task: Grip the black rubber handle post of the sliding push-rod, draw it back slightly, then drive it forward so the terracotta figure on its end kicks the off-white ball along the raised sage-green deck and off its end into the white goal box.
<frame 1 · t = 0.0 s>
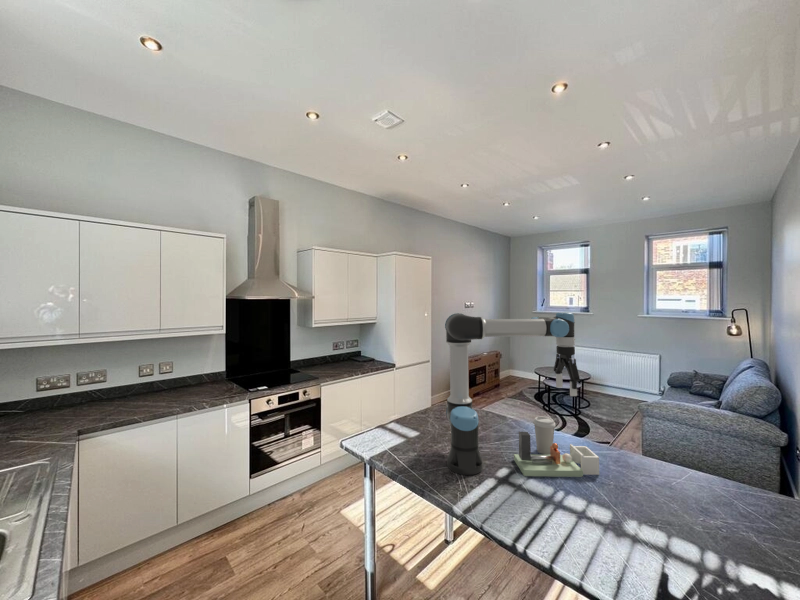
hand: (566, 391, 145), 28 cm above the countertop, fingers open, 13 cm apart
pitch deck: (546, 467, 132), on the countertop
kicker: (539, 446, 132), point 9 cm above the countertop, slide at 1.0 cm
rail guide: (540, 462, 132), resting on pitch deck
ball: (567, 458, 131), point 4 cm above the countertop, touching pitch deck
coffee cup: (544, 451, 146), on the countertop
goal: (583, 468, 131), on the countertop
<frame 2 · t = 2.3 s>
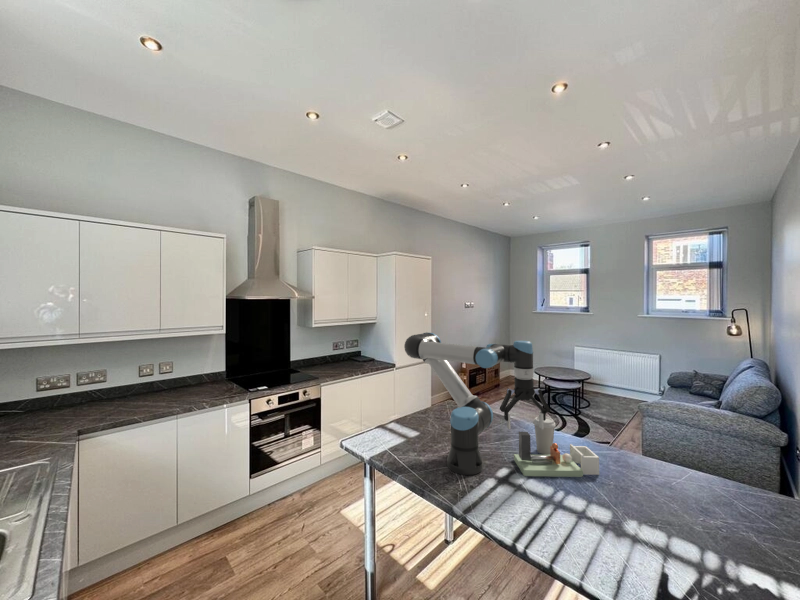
hand: (525, 428, 132), 17 cm above the countertop, fingers open, 13 cm apart
nothing on the countertop moved.
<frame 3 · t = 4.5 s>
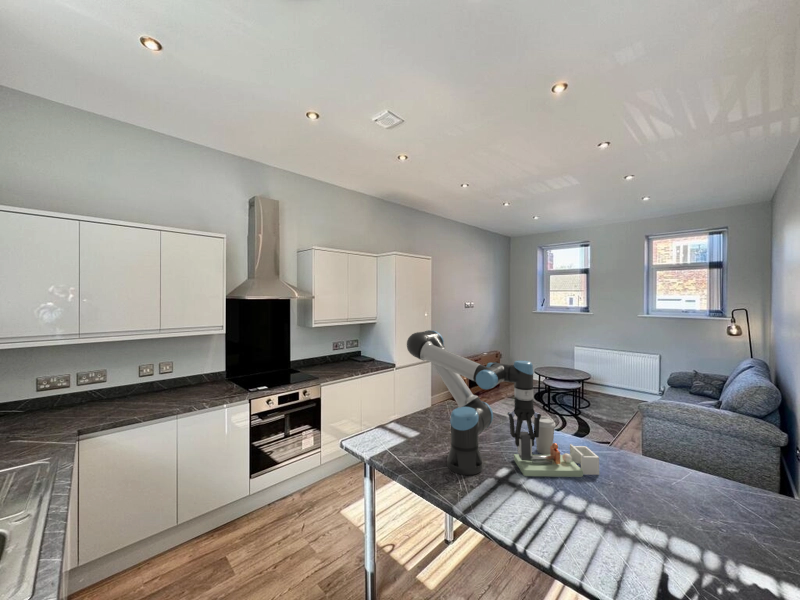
hand: (524, 453, 132), 6 cm above the countertop, fingers closed on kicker, 4 cm apart
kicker: (539, 446, 132), point 9 cm above the countertop, slide at 1.0 cm, touching gripper
everything else where it was.
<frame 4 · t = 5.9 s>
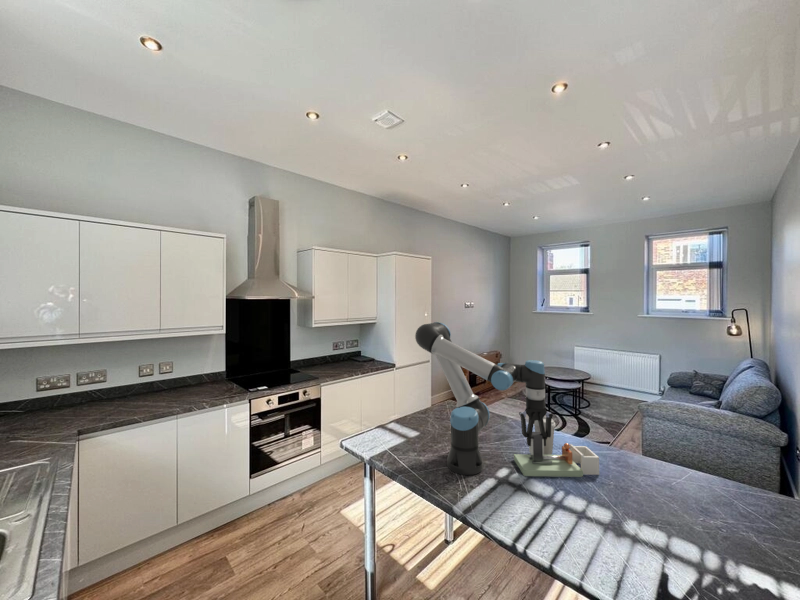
hand: (536, 453, 132), 6 cm above the countertop, fingers closed on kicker, 4 cm apart
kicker: (550, 447, 132), point 9 cm above the countertop, slide at 5.9 cm, touching gripper
ball: (586, 464, 131), point 2 cm above the countertop, tilted 111°
everything else where it was.
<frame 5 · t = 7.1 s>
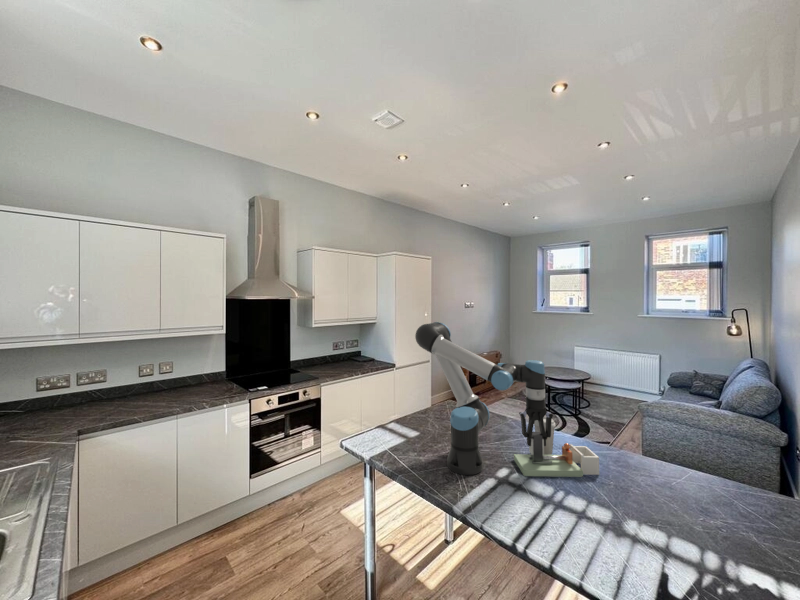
hand: (536, 453, 132), 6 cm above the countertop, fingers closed on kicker, 4 cm apart
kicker: (550, 447, 132), point 9 cm above the countertop, slide at 5.9 cm, touching gripper
everything else where it was.
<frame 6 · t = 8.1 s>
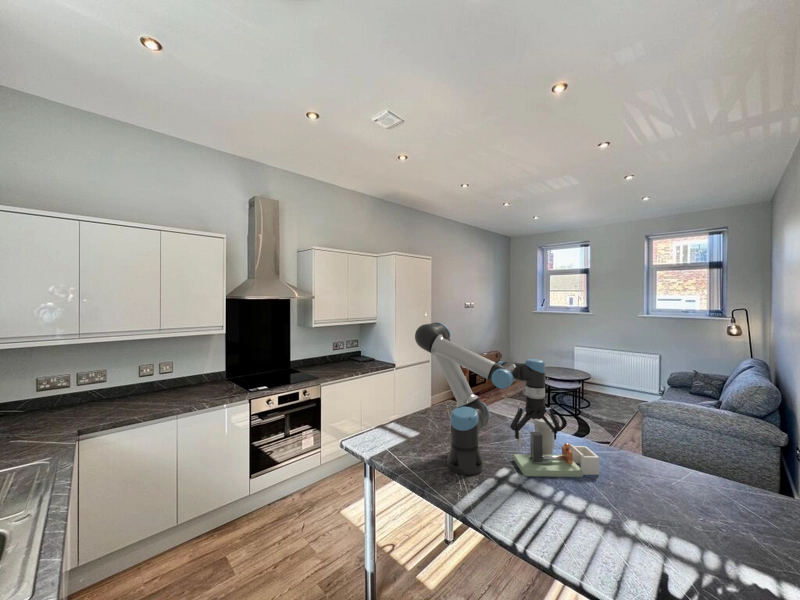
hand: (535, 446, 132), 9 cm above the countertop, fingers open, 13 cm apart
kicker: (550, 447, 132), point 9 cm above the countertop, slide at 5.9 cm
everything else where it was.
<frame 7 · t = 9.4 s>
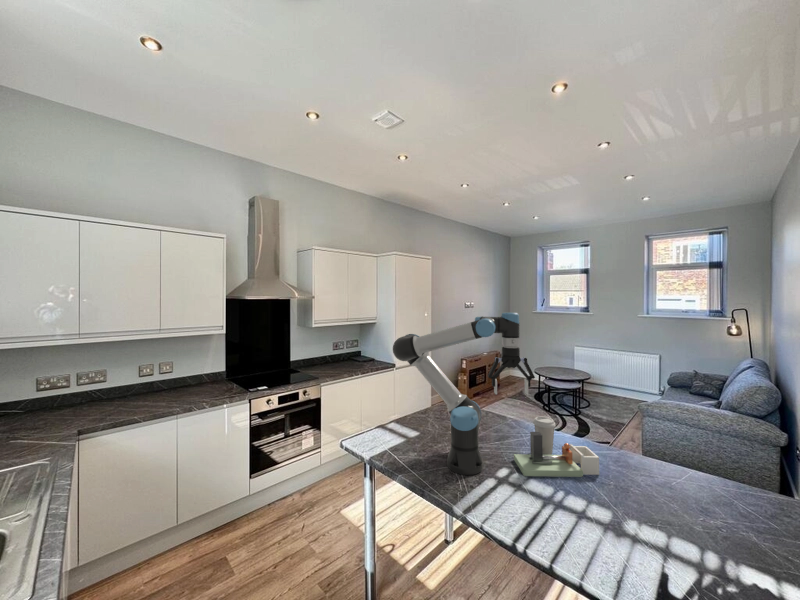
hand: (511, 393, 141), 29 cm above the countertop, fingers open, 13 cm apart
nothing on the countertop moved.
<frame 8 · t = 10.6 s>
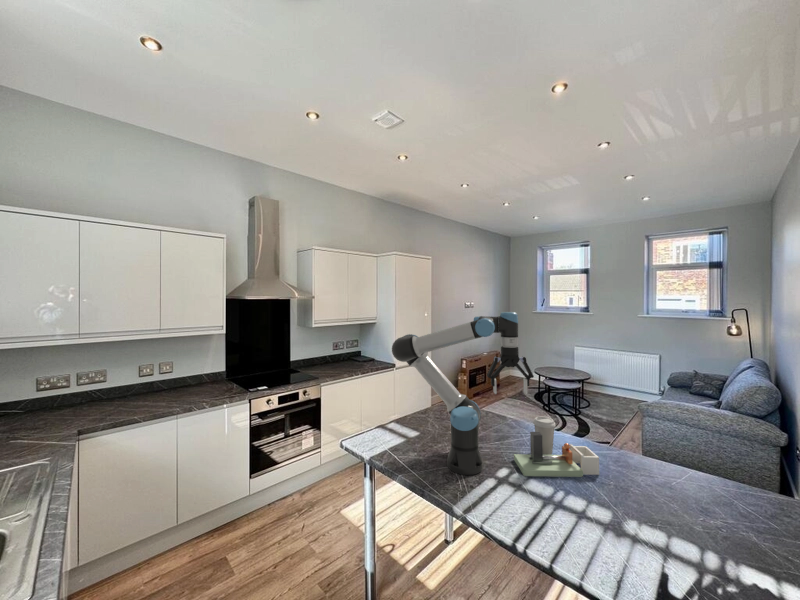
hand: (510, 393, 141), 29 cm above the countertop, fingers open, 13 cm apart
nothing on the countertop moved.
at the end: ball inside the target area (0.5 cm from its centre), point 1.8 cm above the countertop; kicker slide at 5.9 cm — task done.
